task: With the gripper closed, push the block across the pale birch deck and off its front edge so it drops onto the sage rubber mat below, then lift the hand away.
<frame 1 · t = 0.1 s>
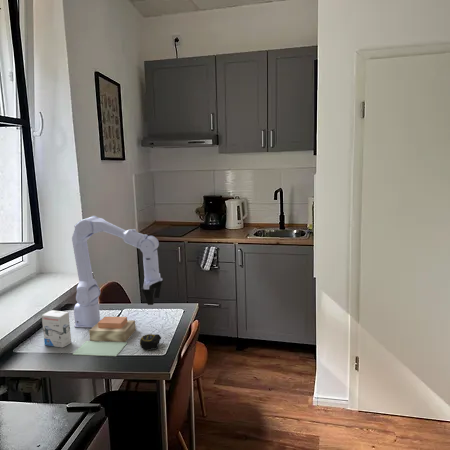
hand: (153, 301, 164), 10 cm above the table, fingers open, 7 cm apart
deck: (113, 335, 158), on the table
tape measure: (152, 347, 147), on the table
mat: (100, 348, 147), on the table
block: (113, 324, 158), point 4 cm above the table, touching deck
ink box: (58, 344, 153), on the table
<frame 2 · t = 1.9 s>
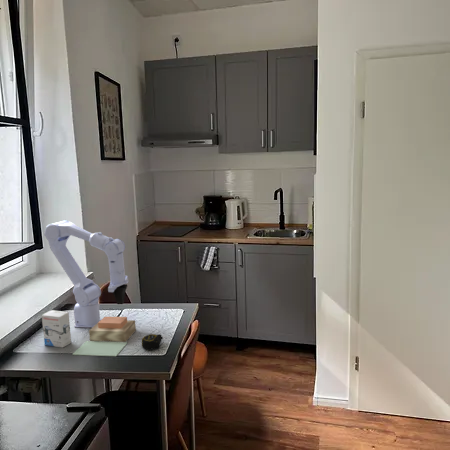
hand: (120, 303, 165), 9 cm above the table, fingers closed
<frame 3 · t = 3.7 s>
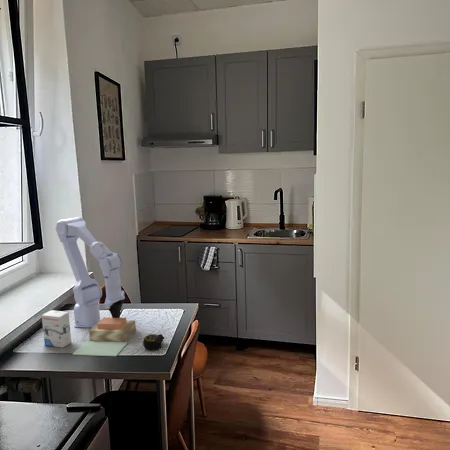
hand: (116, 319, 161), 5 cm above the table, fingers closed
block: (112, 325, 157), point 4 cm above the table, touching deck, gripper
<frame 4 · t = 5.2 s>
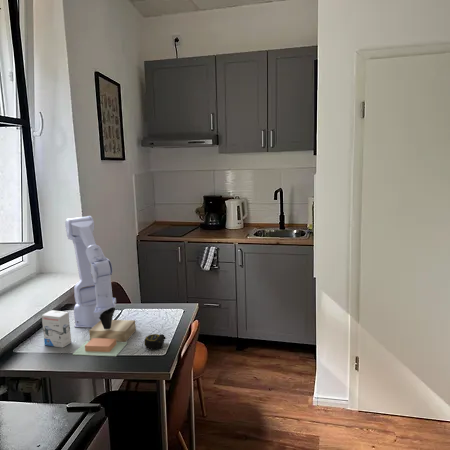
hand: (107, 328, 153), 5 cm above the table, fingers closed
block: (100, 342, 147), point 2 cm above the table, tilted 180°, touching mat
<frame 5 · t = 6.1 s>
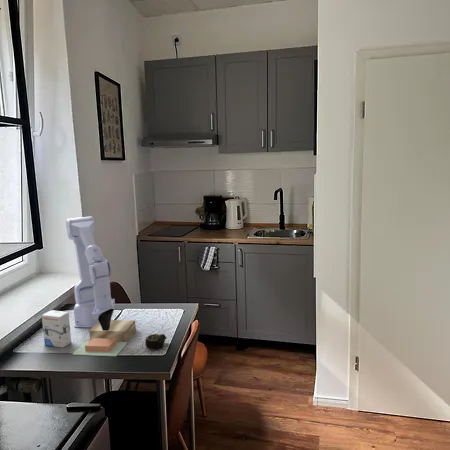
hand: (106, 329, 152), 5 cm above the table, fingers closed
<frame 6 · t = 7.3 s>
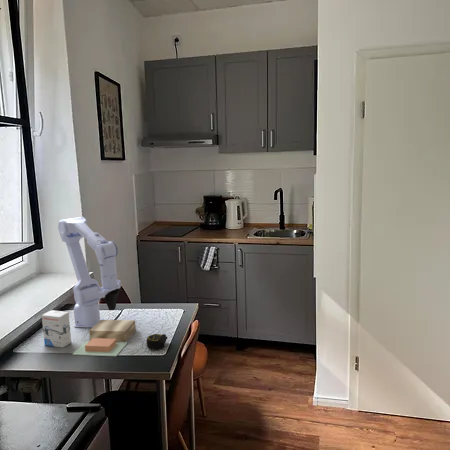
hand: (112, 309, 156), 10 cm above the table, fingers closed
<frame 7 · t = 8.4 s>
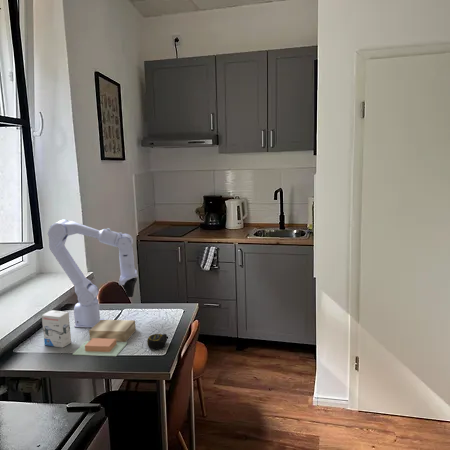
hand: (130, 296, 169), 10 cm above the table, fingers closed
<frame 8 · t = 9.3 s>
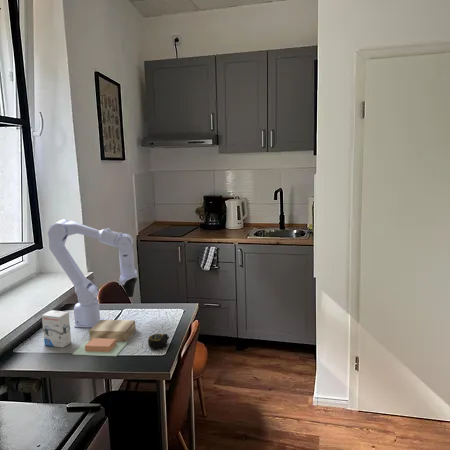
hand: (130, 296, 169), 10 cm above the table, fingers closed
at the end: block point 2.3 cm above the table; block inside the target area on the mat (0.4 cm from its centre), point 2.3 cm above the mat's base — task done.
